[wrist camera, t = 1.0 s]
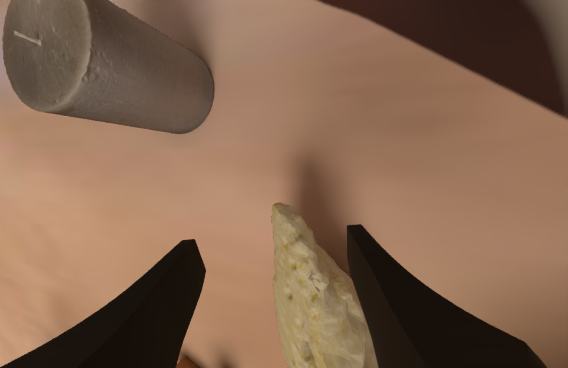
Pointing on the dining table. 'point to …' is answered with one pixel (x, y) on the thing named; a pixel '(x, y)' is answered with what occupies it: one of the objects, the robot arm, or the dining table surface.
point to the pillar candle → (103, 66)
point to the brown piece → (186, 363)
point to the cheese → (315, 301)
